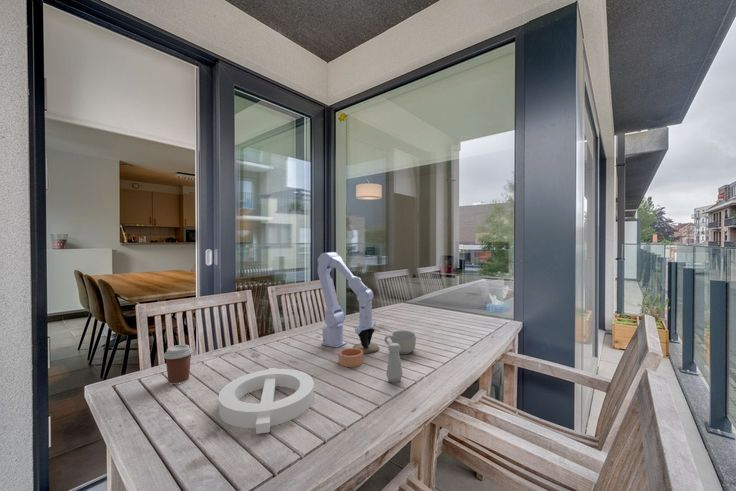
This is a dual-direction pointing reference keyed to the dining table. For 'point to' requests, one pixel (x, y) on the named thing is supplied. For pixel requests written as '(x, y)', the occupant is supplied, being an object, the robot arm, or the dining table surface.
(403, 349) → the teacup
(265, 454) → the dining table surface
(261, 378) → the ring with crossbar
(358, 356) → the bowl
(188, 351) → the coffee cup
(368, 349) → the lid
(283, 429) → the dining table surface
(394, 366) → the salt shaker
